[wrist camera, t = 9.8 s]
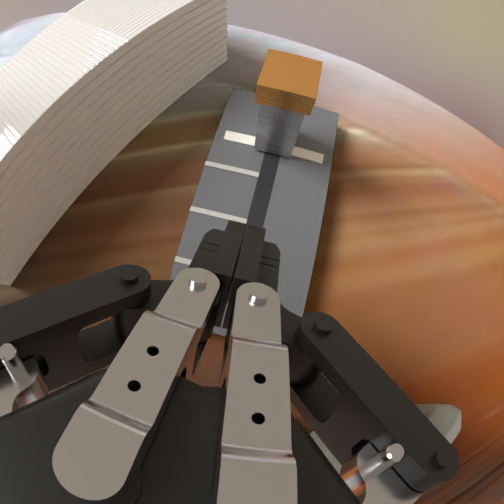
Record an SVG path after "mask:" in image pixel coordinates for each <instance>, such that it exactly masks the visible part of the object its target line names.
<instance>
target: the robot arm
mask: <svg viewBox="0 0 504 504" xmlns="http://www.w3.org/2000/svg"><path fill="white" fill-rule="evenodd" d="M246 226H247V224H245V223H241V222H237V221H233V220H229V221H228V224H227V226H226V229H225V231H222V230H218V229H214V228H213V229H212V230H210V231H208V232H207V233H205V235H204V237H203V239H202V241H201V243H200V245H199V247H198V249H197V251H196V253H195V255H194V257H193V259H192V261H191V263H190V265H189V267H188V269H185V270H183V271H181V272H180V273H179V274H178V275H177V276H176V278H175V279H173V280H167V281H161V280H151V276H150V274H149V272H148V271H147V270H146V269H144V268H142V267H140V266H137V265H121V266H118V267H115V268H112V269H109V270H106V271H103V272H100V273H97V274H94V275H91V276H88V277H85V278H82V279H79V280H76V281H73V282H71V283H68V284H65V285H62V286H59V287H56V288H53V289H50V290H48V291H45V292H42V293H39V294H36V295H33V296H31V297H28V298H25V299H22V300H19V301H17V302H14V303H11V304H8V305H6V306H3V307H0V504H413V503H414V502H415V501H416V500H417V499H418V498H419V497H420V496H421V495H422V494H424V493H426V492H428V491H430V490H432V489H434V488H436V487H438V486H439V485H441V484H443V483H445V482H447V481H449V480H450V479H452V478H453V477H454V475H455V474H456V472H457V470H458V465H459V460H458V455H457V452H456V450H455V449H454V447H453V446H452V445H451V444H450V443H449V442H448V440H447V439H446V438H445V437H444V436H443V435H442V434H441V433H440V432H439V430H438V429H437V428H436V427H435V426H434V425H433V424H432V423H431V422H430V421H429V419H428V418H427V417H426V416H425V415H424V414H423V413H422V412H421V411H420V410H419V409H418V407H417V406H416V405H415V404H414V403H413V402H412V401H411V400H410V399H409V398H408V397H407V395H406V394H405V393H404V392H403V391H402V390H401V389H400V388H399V387H398V386H397V385H396V384H395V382H394V381H393V380H392V379H391V378H390V377H389V376H388V375H387V374H386V373H385V372H384V371H383V369H382V368H381V367H380V366H379V365H378V364H377V363H376V362H375V361H374V360H373V359H372V358H371V357H370V356H369V354H368V353H367V352H366V351H365V350H364V349H363V348H362V347H361V346H360V345H359V344H358V343H357V342H356V341H355V339H354V338H353V337H352V336H351V335H350V334H349V333H348V332H347V331H346V330H345V329H344V328H343V327H342V326H341V325H340V324H339V322H338V321H337V320H335V319H334V318H333V317H331V316H330V315H327V314H325V313H321V312H310V313H307V314H305V315H304V316H303V317H300V316H298V315H296V314H294V313H292V312H290V311H289V310H287V309H286V308H285V307H284V306H283V305H282V304H281V303H280V298H279V295H278V294H277V289H278V278H279V266H280V253H281V252H280V250H279V248H278V247H277V245H276V244H274V243H270V242H266V241H264V238H265V232H266V229H265V228H261V227H257V226H253V225H249V224H248V228H247V231H246V235H245V239H244V234H245V230H246ZM243 239H244V242H243ZM242 243H243V246H242ZM241 247H242V249H241ZM240 251H241V253H240ZM239 255H240V257H239ZM232 282H233V283H232ZM231 286H232V287H231ZM230 290H231V292H230ZM229 293H230V296H229ZM228 297H229V300H228ZM227 301H228V305H227V309H226V313H225V318H224V322H223V326H222V328H224V329H227V333H226V337H225V341H224V345H223V351H222V358H221V365H220V372H219V380H218V387H203V386H200V385H197V384H195V383H193V380H194V378H195V375H196V373H197V370H198V368H199V365H200V363H201V360H202V358H203V355H204V353H205V350H206V348H207V345H208V342H209V338H210V337H211V335H212V332H213V329H214V326H216V327H221V323H222V319H223V316H224V312H225V308H226V304H227ZM110 316H112V319H111V320H108V321H106V322H103V323H101V324H98V325H96V326H93V327H91V328H88V329H86V330H83V331H81V332H80V330H81V329H82V328H84V327H85V326H88V325H90V324H93V323H95V322H98V321H100V320H103V319H105V318H108V317H110ZM109 364H111V365H110V367H109V368H108V369H105V370H101V371H98V372H95V373H93V374H91V375H89V376H86V377H84V378H82V379H80V380H78V381H76V382H74V383H72V384H70V385H68V386H66V387H64V388H62V389H59V390H57V391H55V392H53V393H51V394H49V395H47V394H48V391H50V390H53V389H55V388H57V387H60V386H62V385H64V384H67V383H69V382H71V381H73V380H76V379H78V378H80V377H83V376H85V375H87V374H89V373H92V372H94V371H96V370H98V369H100V368H103V367H105V366H107V365H109ZM321 372H322V373H323V374H324V375H325V377H326V378H327V379H328V380H329V381H330V383H331V384H332V385H333V386H334V387H335V389H336V390H337V391H338V392H337V391H336V390H335V389H334V388H333V386H332V385H331V384H330V383H329V382H328V380H327V379H326V378H325V377H324V376H323V374H322V373H321ZM338 393H339V394H340V395H339V394H338ZM290 400H291V401H292V403H293V404H294V405H295V407H296V408H297V409H298V411H299V412H300V413H301V415H302V416H303V417H304V419H305V420H306V421H307V423H308V424H309V425H310V426H311V428H312V429H313V430H314V432H315V433H316V434H317V435H318V437H319V438H320V439H321V441H322V442H323V443H324V444H325V446H326V447H327V448H328V449H329V451H330V452H331V453H332V454H333V456H334V457H335V458H336V459H337V461H338V462H339V463H340V464H341V466H342V467H341V470H340V475H339V473H338V472H337V471H336V469H335V468H334V467H333V465H332V464H331V463H330V461H329V460H328V459H327V457H326V456H325V454H324V453H323V452H322V450H321V449H320V448H319V446H318V445H317V444H316V442H315V441H314V439H313V438H312V437H311V435H310V434H309V432H308V431H307V430H306V428H305V427H304V426H303V425H302V424H301V423H300V422H299V421H298V420H297V419H296V418H295V417H294V416H293V415H291V408H290Z"/></svg>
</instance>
